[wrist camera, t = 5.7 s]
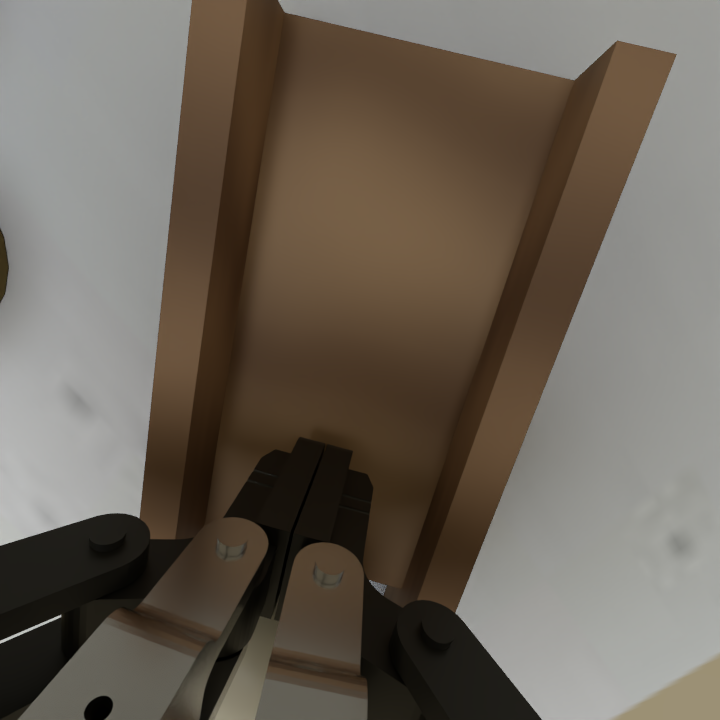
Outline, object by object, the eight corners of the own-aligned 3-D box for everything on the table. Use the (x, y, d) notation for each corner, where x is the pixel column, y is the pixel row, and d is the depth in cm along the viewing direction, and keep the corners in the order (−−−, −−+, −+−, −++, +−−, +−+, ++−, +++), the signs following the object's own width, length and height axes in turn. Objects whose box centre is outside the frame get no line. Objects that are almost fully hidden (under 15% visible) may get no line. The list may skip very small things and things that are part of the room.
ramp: (273, 47, 12) (197, -57, 8) (579, 120, 11) (676, 54, 7) (182, 641, 18) (114, 763, 14) (375, 699, 18) (364, 840, 14)
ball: (198, 494, 10) (93, 750, 8) (401, 558, 10) (337, 835, 8) (241, 504, 14) (179, 671, 13) (380, 548, 14) (336, 724, 12)
